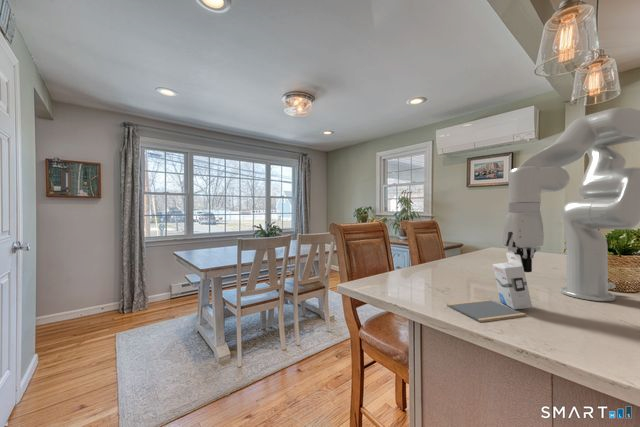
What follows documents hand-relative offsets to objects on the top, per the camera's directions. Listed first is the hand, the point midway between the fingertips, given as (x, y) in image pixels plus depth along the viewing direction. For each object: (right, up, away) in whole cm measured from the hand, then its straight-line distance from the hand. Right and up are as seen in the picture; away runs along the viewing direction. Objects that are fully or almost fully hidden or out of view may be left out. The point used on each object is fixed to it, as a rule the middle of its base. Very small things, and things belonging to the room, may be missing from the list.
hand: (524, 271), depth 79 cm
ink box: (-3, -10, -1) cm, 10 cm away
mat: (-14, -11, -3) cm, 18 cm away
